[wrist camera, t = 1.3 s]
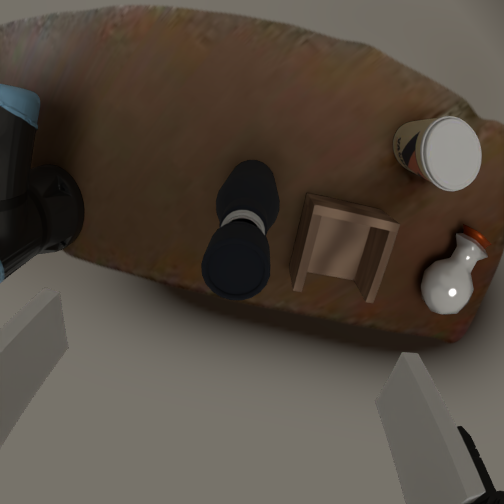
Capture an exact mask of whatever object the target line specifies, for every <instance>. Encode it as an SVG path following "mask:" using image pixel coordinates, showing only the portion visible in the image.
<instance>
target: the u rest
mask: <svg viewBox="0 0 504 504" xmlns="http://www.w3.org/2000/svg"><path fill="white" fill-rule="evenodd" d="M399 226H400V224H399V223H398V222H397V221H395V220H394V219H393V218H391V217H390V216H389V215H388V214H386V213H385V212H384V211H382V210H381V209H377V208H372V207H368V206H364V205H360V204H356V203H352V202H347V201H343V200H338V199H334V198H329V197H325V196H320V195H316V194H311V193H306V198H305V202H304V206H303V211H302V215H301V219H300V224H299V228H298V232H297V236H296V241H295V245H294V249H293V253H292V257H291V261H290V265H289V270H290V276H291V282H292V287H293V291H299V292H302V289H303V285H304V282H305V278H306V274H307V272H310V273H316V274H321V275H327V276H333V277H339V278H345V279H350V280H354V281H355V283H356V285H357V287H358V288H359V290H360V292H361V294H362V296H363V298H364V300H365V302H370V303H373V302H374V299H375V297H376V294H377V291H378V288H379V286H380V283H381V280H382V277H383V275H384V272H385V269H386V266H387V263H388V260H389V257H390V254H391V251H392V248H393V245H394V242H395V239H396V236H397V232H398V229H399Z"/></svg>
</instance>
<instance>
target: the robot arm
mask: <svg viewBox="0 0 504 504" xmlns="http://www.w3.org/2000/svg"><path fill="white" fill-rule="evenodd" d="M39 109H40V99H39V97H38V95H37V94H36V93H34V92H33V91H30V90H26V89H23V88H18V87H14V86H9V85H4V84H0V283H1V282H2V281H3V280H4V279H6V278H7V277H8V276H9V275H11V274H12V273H13V272H14V271H16V270H17V269H18V268H20V267H21V266H22V265H24V264H25V263H26V262H27V261H29V260H30V259H31V258H33V257H34V256H36V255H37V254H43V253H50V252H57V251H59V250H62V249H64V248H65V247H67V246H68V245H69V244H71V243H72V242H73V241H74V240H75V239H76V238H77V236H78V235H79V233H80V231H81V228H82V225H83V220H84V205H83V199H82V196H81V193H80V190H79V188H78V186H77V184H76V182H75V181H74V179H73V178H72V177H71V176H70V175H69V174H68V173H67V172H66V171H65V170H63V169H62V168H60V167H58V166H55V165H42V166H38V167H35V168H32V169H30V167H31V160H32V152H33V146H34V140H35V134H36V130H38V125H37V122H38V115H39ZM67 349H68V342H67V337H66V331H65V325H64V319H63V312H62V304H61V296H60V292H59V291H55V290H52V289H49V288H44V289H42V290H41V291H40V292H39V293H38V294H37V295H36V296H35V297H33V298H32V299H31V300H30V301H29V302H28V303H27V304H26V305H25V306H24V307H23V308H22V309H20V310H19V311H18V312H17V313H16V314H15V315H14V316H13V317H12V318H11V319H10V320H9V321H8V322H7V323H6V324H5V325H4V326H3V327H2V328H1V329H0V448H1V446H2V445H3V443H4V441H5V440H6V438H7V437H8V435H9V433H10V432H11V430H12V429H13V427H14V426H15V424H16V422H17V421H18V419H19V417H20V416H21V415H22V413H23V412H24V410H25V409H26V407H27V406H28V404H29V403H30V401H31V400H32V398H33V397H34V395H35V394H36V392H37V391H38V389H39V388H40V386H41V385H42V384H43V382H44V381H45V379H46V378H47V377H48V375H49V374H50V372H51V371H52V370H53V368H54V367H55V365H56V364H57V363H58V361H59V360H60V359H61V357H62V356H63V355H64V353H65V352H66V350H67ZM375 403H376V405H377V409H378V412H379V414H380V418H381V421H382V424H383V427H384V430H385V433H386V436H387V440H388V443H389V446H390V450H391V453H392V456H393V460H394V463H395V466H396V470H397V473H398V477H399V480H400V484H401V488H402V491H403V495H404V499H405V502H406V504H504V491H496V489H495V488H494V486H493V484H492V481H491V479H490V476H489V474H488V472H487V470H486V467H485V465H484V463H483V461H482V459H481V458H480V457H479V456H480V454H479V452H478V450H477V449H475V447H476V446H475V444H474V442H473V440H472V438H471V436H470V435H469V434H468V433H467V432H466V430H465V429H464V428H463V427H462V426H458V427H457V426H456V424H455V422H454V420H453V418H452V416H451V414H450V412H449V410H448V408H447V407H446V405H445V403H444V401H443V399H442V397H441V395H440V393H439V391H438V389H437V387H436V385H435V384H434V382H433V380H432V378H431V376H430V374H429V373H428V371H427V369H426V367H425V365H424V364H423V362H422V360H421V358H420V356H419V355H418V353H404V352H402V354H401V356H400V357H399V359H398V361H397V363H396V365H395V367H394V369H393V371H392V372H391V374H390V376H389V378H388V380H387V382H386V383H385V385H384V387H383V389H382V390H381V392H380V394H379V396H378V397H377V399H376V400H375Z"/></svg>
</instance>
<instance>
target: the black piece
mask: <svg viewBox="0 0 504 504" xmlns="http://www.w3.org/2000/svg"><path fill="white" fill-rule="evenodd" d="M279 202H280V201H279V196H278V192H277V188H276V183H275V179H274V176H273V173H272V171H271V170H270V168H269V167H268V166H267V165H265V164H264V163H263V162H260V161H257V160H247V161H244V162H242V163H240V164H239V165H237V166H236V167H235V169H234V170H233V171H232V173H231V174H230V176H229V177H228V178H227V180H226V181H225V183H224V184H223V186H222V187H221V189H220V190H219V193H218V196H217V199H216V210H217V215H218V218H219V221H220V228H219V229H217V231H216V232H215V234H214V235H213V236H212V238H211V240H210V243H209V245H208V247H207V250H206V252H205V254H204V257H203V261H202V264H201V266H202V276H203V278H204V281H205V283H206V284H207V286H208V287H209V288H210V289H211V290H212V291H213V292H214V293H216V294H217V295H219V296H220V297H223V298H226V299H229V300H244V299H248V298H252V297H253V296H255V295H256V294H258V293H260V292H261V290H262V289H263V288H264V287H265V286H266V284H267V282H268V279H269V277H270V251H269V244H268V241H267V238H266V234H267V231H268V230H269V228H270V227H271V226H272V225H273V223H274V222H275V220H276V218H277V215H278V212H279Z"/></svg>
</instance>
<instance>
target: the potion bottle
mask: <svg viewBox="0 0 504 504" xmlns="http://www.w3.org/2000/svg"><path fill="white" fill-rule="evenodd" d="M463 227H464V231H463V233H456V239H457V247H456V249H455V251H454V252H453V254H452V256H451V258H448V259H442V260H437V261H435V262H434V263H433V264H432V265H430V266H429V267H428V268H427V269H426V270H425V271H424V274H423V278H422V281H421V292H422V299H423V300H424V302H425V303H426V305H427V306H428V307H429V309H430V310H431V311H433V312H436V313H440V314H443V315H446V314H456V313H458V312H459V311H460V310H461V309H462V308H463V307H464V306H465V305H466V304H467V303H468V302H469V300H470V297H471V295H472V292H473V284H472V279H471V274H470V272H471V271H472V269H473V267H474V265H475V264H476V262H477V260H480V259H483V258H486V257H488V256H487V253H486V251H485V248H486V247H487V246H490V245H491V243H490V242H489V241H488V240H487V239H486V238H485V237H484V236H483V235H482V234H481V233H480V232H478V231H476V230H474V229H472V228H470V227H468V226H466V225H464V224H463Z"/></svg>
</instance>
